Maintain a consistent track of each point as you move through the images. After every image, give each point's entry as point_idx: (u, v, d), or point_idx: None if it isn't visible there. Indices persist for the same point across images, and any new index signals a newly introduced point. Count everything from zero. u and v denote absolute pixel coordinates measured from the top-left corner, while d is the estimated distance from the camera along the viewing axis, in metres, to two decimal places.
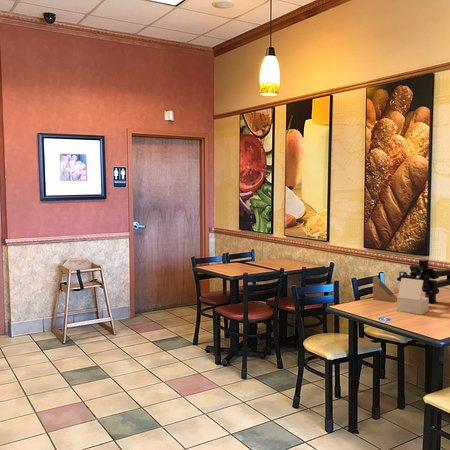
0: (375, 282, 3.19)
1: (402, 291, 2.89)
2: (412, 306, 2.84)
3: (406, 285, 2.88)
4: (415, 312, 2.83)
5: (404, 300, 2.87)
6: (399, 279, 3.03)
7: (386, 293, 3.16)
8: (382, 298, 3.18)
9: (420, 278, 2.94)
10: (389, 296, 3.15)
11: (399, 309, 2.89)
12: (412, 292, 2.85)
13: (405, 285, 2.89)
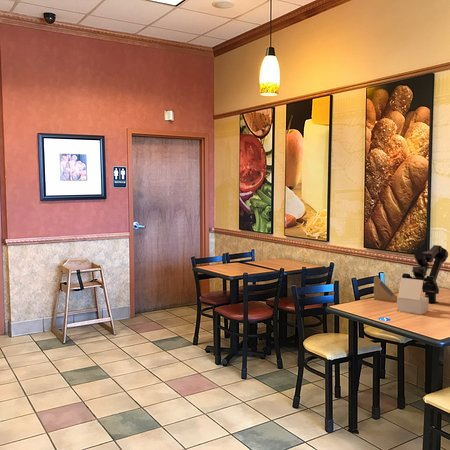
0: (376, 282, 3.18)
1: (402, 291, 2.89)
2: (412, 306, 2.84)
3: (406, 285, 2.88)
4: (415, 312, 2.83)
5: (404, 300, 2.87)
6: None
7: (387, 293, 3.16)
8: (383, 298, 3.17)
9: None
10: (390, 296, 3.15)
11: (399, 309, 2.89)
12: (412, 292, 2.85)
13: (405, 285, 2.89)
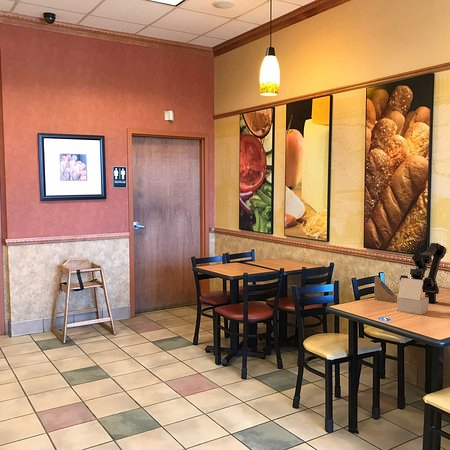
0: (376, 282, 3.18)
1: (402, 291, 2.89)
2: (412, 306, 2.84)
3: (406, 285, 2.88)
4: (415, 312, 2.83)
5: (404, 300, 2.87)
6: None
7: (388, 293, 3.16)
8: (384, 298, 3.17)
9: None
10: (391, 296, 3.15)
11: (399, 309, 2.89)
12: (412, 292, 2.85)
13: (405, 285, 2.89)
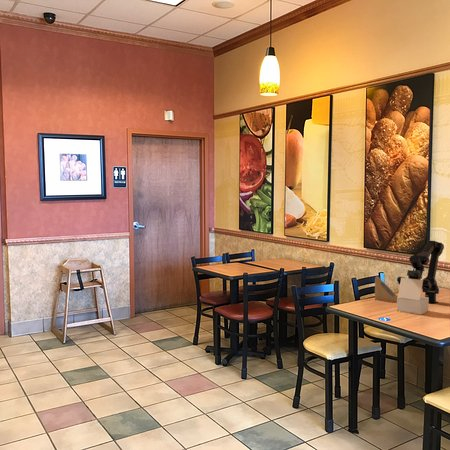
0: (377, 282, 3.18)
1: (402, 291, 2.88)
2: (412, 306, 2.84)
3: (406, 285, 2.88)
4: (415, 312, 2.83)
5: (404, 300, 2.87)
6: None
7: (388, 293, 3.15)
8: (384, 298, 3.16)
9: None
10: (391, 296, 3.15)
11: (399, 309, 2.89)
12: (412, 292, 2.85)
13: (405, 285, 2.88)
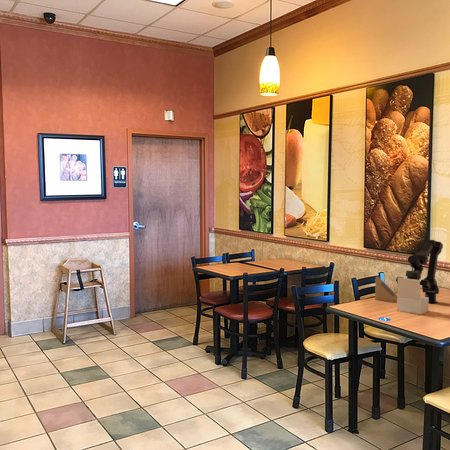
0: (377, 282, 3.18)
1: (401, 292, 2.87)
2: (412, 306, 2.84)
3: (403, 285, 2.86)
4: (415, 312, 2.83)
5: (404, 300, 2.87)
6: None
7: (389, 293, 3.15)
8: (385, 298, 3.16)
9: None
10: (392, 296, 3.14)
11: (399, 309, 2.89)
12: (411, 292, 2.83)
13: (403, 286, 2.86)
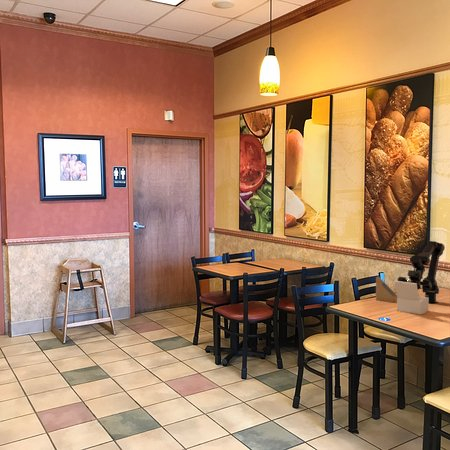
0: (378, 283, 3.17)
1: (400, 293, 2.86)
2: (412, 306, 2.84)
3: (401, 288, 2.84)
4: (415, 312, 2.83)
5: (404, 300, 2.87)
6: None
7: (389, 293, 3.15)
8: (385, 299, 3.16)
9: (418, 284, 2.87)
10: (392, 296, 3.14)
11: (399, 309, 2.89)
12: (410, 294, 2.82)
13: (401, 288, 2.84)
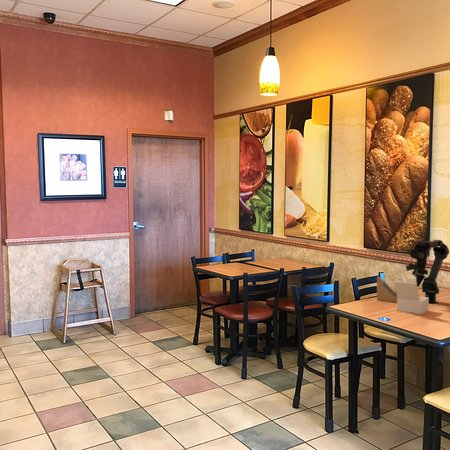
0: (379, 283, 3.16)
1: (400, 293, 2.86)
2: (412, 306, 2.84)
3: (401, 288, 2.84)
4: (415, 312, 2.83)
5: (404, 300, 2.87)
6: None
7: (390, 294, 3.14)
8: (386, 299, 3.15)
9: (417, 275, 2.97)
10: (393, 297, 3.14)
11: (399, 309, 2.89)
12: (410, 294, 2.82)
13: (401, 288, 2.84)
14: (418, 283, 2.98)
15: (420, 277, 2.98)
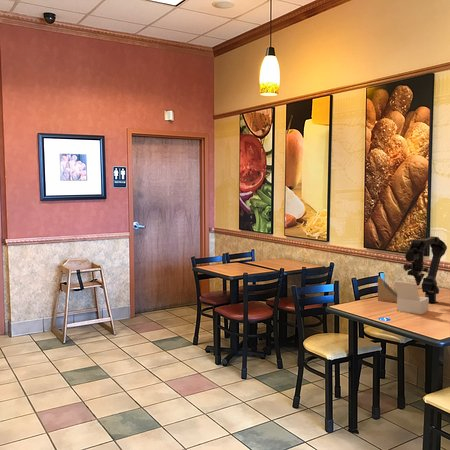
0: (380, 283, 3.16)
1: (400, 293, 2.86)
2: (412, 306, 2.84)
3: (401, 288, 2.84)
4: (415, 312, 2.83)
5: (404, 300, 2.87)
6: None
7: (391, 294, 3.14)
8: (387, 299, 3.15)
9: None
10: (394, 297, 3.13)
11: (399, 309, 2.89)
12: (410, 294, 2.82)
13: (401, 288, 2.84)
14: (417, 282, 3.00)
15: (418, 276, 2.99)
